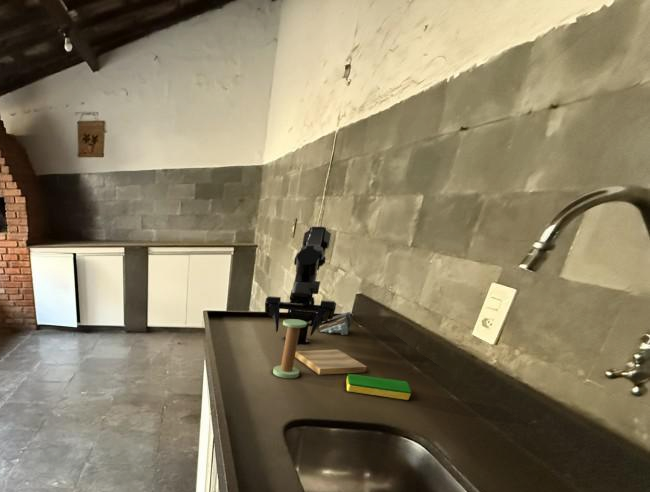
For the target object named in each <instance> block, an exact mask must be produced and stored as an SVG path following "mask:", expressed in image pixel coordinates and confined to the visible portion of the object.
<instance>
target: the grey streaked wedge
mask: <svg viewBox="0 0 650 492" xmlns="http://www.w3.org/2000/svg"><path fill="white" fill-rule="evenodd" d="M352 324H353V319H352V316H351V312H348V311H347V312H344V313H340V314H337V315H335V316H333V319H328V320H327V321H323V322H322V323H321V324H320V325H319V326H318V327H317V329H319V332H320V333H322V332H323V333H329V334H330V335H333V334H340V335H341V336H344V335H348V334H349V329H350V328H351V327H352Z"/></svg>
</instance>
